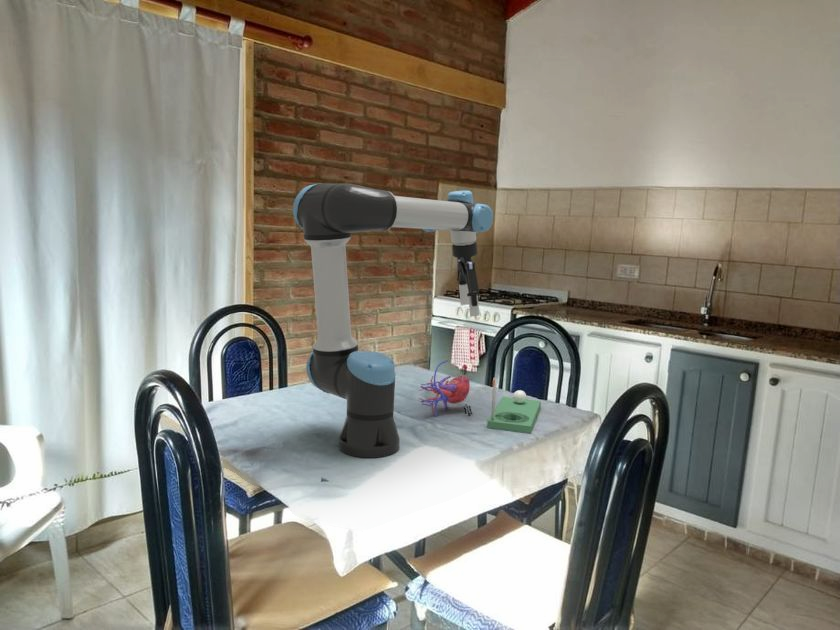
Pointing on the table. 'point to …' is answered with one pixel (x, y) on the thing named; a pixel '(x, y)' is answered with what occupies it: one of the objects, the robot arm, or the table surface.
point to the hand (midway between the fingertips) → (469, 310)
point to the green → (513, 414)
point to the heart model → (448, 390)
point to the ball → (519, 396)
